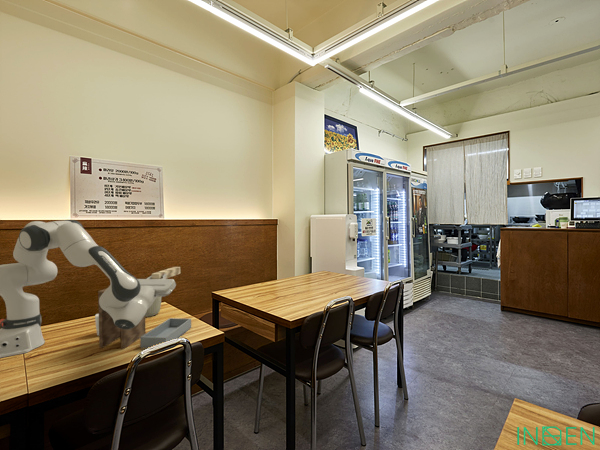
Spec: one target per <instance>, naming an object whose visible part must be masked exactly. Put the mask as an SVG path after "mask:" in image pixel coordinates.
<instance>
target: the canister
mask: <svg viewBox="0 0 600 450" xmlns="http://www.w3.org/2000/svg"><path fill="white" fill-rule="evenodd" d="M162 298H163V297H162V296H159V297H156V299H155V301H154V302H153V304H152V305H151V307H150V308H148V309H147V312H146V314H145V318H149V317H154V316H156V315H158V314H159V312H160V311H161V306H162Z"/></svg>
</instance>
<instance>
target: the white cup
mask: <svg viewBox="0 0 600 450" xmlns="http://www.w3.org/2000/svg"><path fill="white" fill-rule="evenodd" d="M94 321H95V328H96V329H95V330H96V335H97V336H98V337H99V313H96V314H95V315H94Z"/></svg>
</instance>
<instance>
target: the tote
mask: <svg viewBox="0 0 600 450" xmlns="http://www.w3.org/2000/svg"><path fill="white" fill-rule="evenodd" d="M190 328H191V329H192V318H181V317H180V318H175V317H174V318H173V317H172V318H171V317H170V318H168V319H166V320H164V321H163V322H162V323H160V324H158V325H157V326H155V327H154V328H153V329H151V330H149V331H148V332H146V334H144V335H143V336H141V337H140V339H139V340H140V348H141V349H149V348H148V347H151V346H153V345H156V344H159V343H162V342H166V341H170V340H172V339H176V338H178V339H180V338H181V337H182V336H183V335H185V334H186V333H187V332H188V331H190V330H191V329H190ZM180 336H181V337H180ZM179 337H180V338H179Z"/></svg>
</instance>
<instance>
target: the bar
mask: <svg viewBox="0 0 600 450" xmlns="http://www.w3.org/2000/svg"><path fill="white" fill-rule="evenodd" d="M162 274H166V275H167V277H166V279H170V278H171V277H172V278H173V277H175V276H178V275H180V274H181V266H172V267H169V268H166V269H162V270H159V271H156V272H153V273H151V276H152V279H162V277H161V276H162Z"/></svg>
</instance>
